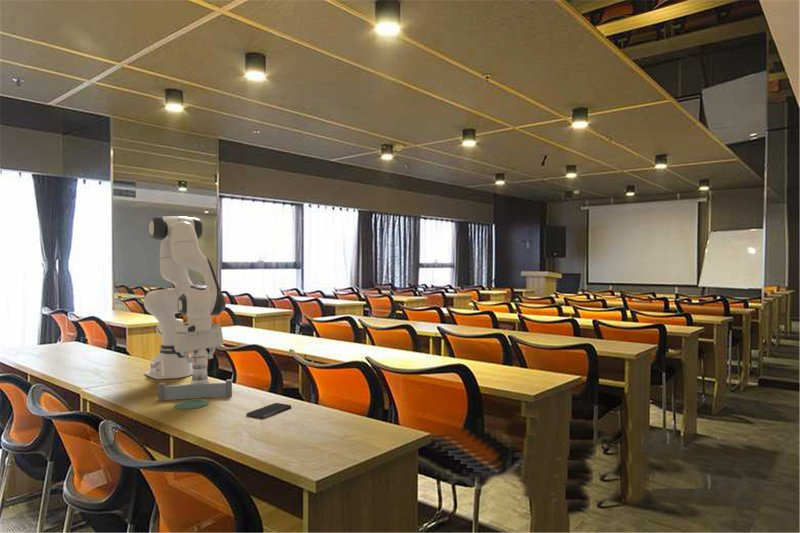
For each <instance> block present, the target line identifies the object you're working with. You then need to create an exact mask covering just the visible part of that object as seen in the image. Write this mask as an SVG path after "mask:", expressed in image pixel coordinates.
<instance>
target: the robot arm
mask: <svg viewBox="0 0 800 533" xmlns="http://www.w3.org/2000/svg"><path fill="white" fill-rule="evenodd" d="M150 220H151V221H150V223H149V225H148V226H149V227H148V229H149V233H150V236H151V237H152V239H154V240H157V241H160V247H159V267H160V270H159V271H160V275H161V277H162V278H163V279H164V280H165V281H166V282H170V283H172V285H173V286H174V288H167V289H165V288H163V289H156V290H151V291H148V292H147V293H146V294H145V296H144V297H143V298H144V299H143V306H144V309H145V310H146V311H147V312H148V313H149V314H151V315H152V316H153V317H154V318H155V319H156V320H157V321H158V323H159V325H160V328H161V337H162V338H161V339H162V344H161V345H160V346H159V354H158V355H156V356H155V357H154V358H153V359H152V360H151V361H150V370H147V371H145V372H144V375H145V376H148V377H150V378H153V379H154V380H165V379H166V380H167V379H179V378H184V377H185V378H186V377H190V376H191V375H192V372H193V371H192V369H193V368H192V362H193V361H192V360H193V358H191V352H192V351H195V350H200V349H206V350H207V349H209V352H208V360H211V359H212V360H213V358H214V355H215V354H214V353H215V351H216V348H217V347H222V346H223V344H224V338H223V332H222V330H223V329H222V326H221V325H220V324H219V323H212V316H213V317H214V316H219V315H221V314H222V313H223V312H224V310H225V309H226V304H227V303H226V298H225V296H224V294H223V292H222V290H221V287H220V285H219V282H218V279H217V276H216V273H215V270H214V268H213V265H212V263H211V261H210V258H209V257H207V256H205V255H204V254H203V252H202V251H201V249H200V244H199V239H200V238H202V236H203V231H204V227H203V222H202V221H201V219H200V218H198V217H194V216H191V217H190V216H185V215H184V216H182V215H176V216H175V215H172V216H171V215H169V216H163V215H159V216H154V217H152V219H150ZM188 269H189V270H190V271H191V270H192V271H195V272H196V273H199V274H200V275H201V276H202V277H203V280H204V282H205V284H194V283H193V281H192V280H191V278H190V276H189V271H188ZM176 314H180V315H182V316H185V317H187V321H185V322H184V321H182V320H179V319H177V318H176Z"/></svg>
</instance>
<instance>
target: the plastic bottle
mask: <svg viewBox="0 0 800 533" xmlns="http://www.w3.org/2000/svg"><path fill="white" fill-rule="evenodd" d="M190 354H191V358H193V360H192V361H193V362H192V368H193V369H192V371H193V372H192V376H191V384H207V383H210V381H209V379H208V360H209V359H208V354H209V352H208V350H207V348H206V349H200V350H195V351H190Z"/></svg>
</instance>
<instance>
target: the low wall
mask: <svg viewBox="0 0 800 533" xmlns="http://www.w3.org/2000/svg"><path fill="white" fill-rule="evenodd" d="M217 396H222V397H232V396H233V379H229V378H228V379H226V380H225V382H212V383H210V382H209V383H207V384H174V385H172V384H171V385H166V382H159V383H158V384H157V401H166V400H167V401H168V400H169V401H170V400H184V399H185V400H186V398H188V399H200V398H202V397H205V398H216V397H217ZM217 398H218V397H217Z"/></svg>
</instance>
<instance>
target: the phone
mask: <svg viewBox="0 0 800 533" xmlns="http://www.w3.org/2000/svg"><path fill="white" fill-rule="evenodd" d="M291 409H292V405H291V404H285V403H280V402H274V403H272V404H269V405H266V406H263V407H260V408H257V409H255V410H251V411H249V412H247V413H245V414H246V417H247V418H252V417H253V418H254V419H259V420H265V419H268V418H269V417H273V416H275V415H278V414H280V413H283V412H286V411H287V410H291Z"/></svg>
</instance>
